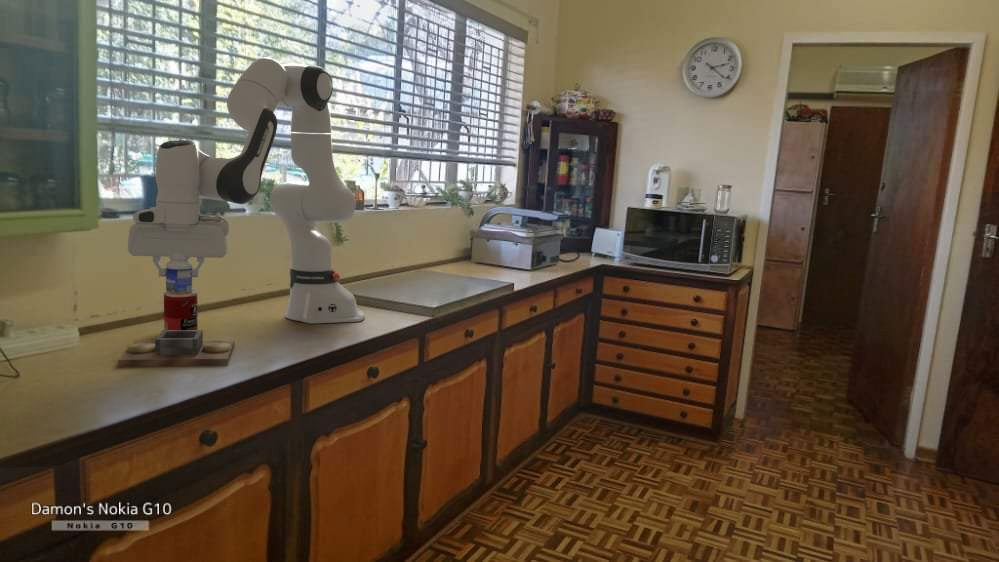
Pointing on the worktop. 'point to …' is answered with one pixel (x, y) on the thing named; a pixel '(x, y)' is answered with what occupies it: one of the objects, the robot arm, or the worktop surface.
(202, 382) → the worktop surface
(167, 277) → the pill bottle
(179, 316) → the canned food
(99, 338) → the worktop surface
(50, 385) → the worktop surface
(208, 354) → the board
